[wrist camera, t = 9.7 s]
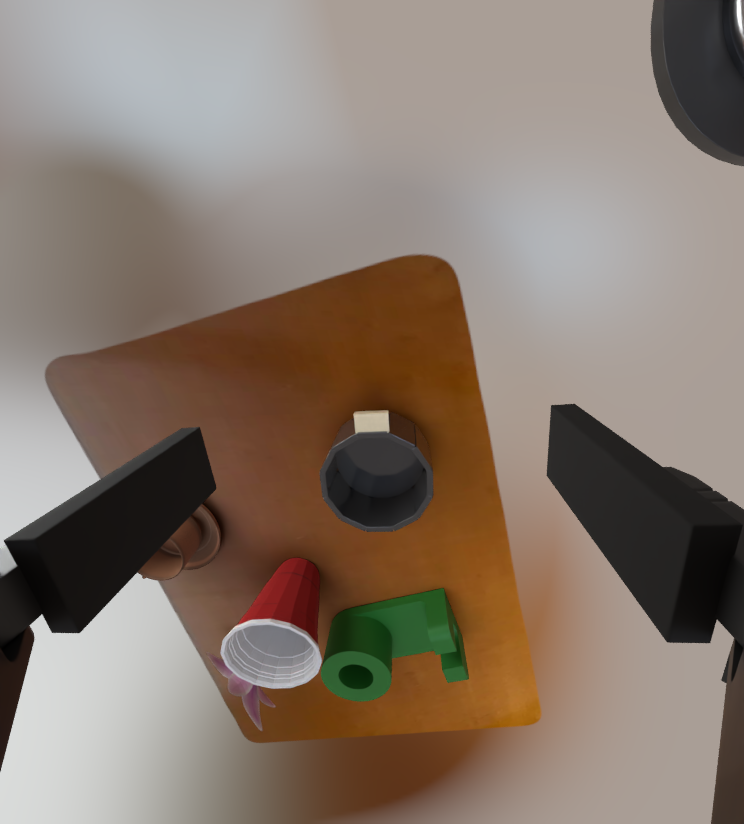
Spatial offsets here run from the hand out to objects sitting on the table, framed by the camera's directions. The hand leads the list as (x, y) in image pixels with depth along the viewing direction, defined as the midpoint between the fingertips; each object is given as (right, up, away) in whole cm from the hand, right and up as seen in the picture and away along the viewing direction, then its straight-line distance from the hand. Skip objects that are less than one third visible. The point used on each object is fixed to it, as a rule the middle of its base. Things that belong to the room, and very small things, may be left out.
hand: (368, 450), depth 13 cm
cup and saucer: (-25, -13, +35) cm, 45 cm away
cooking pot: (+1, -4, +27) cm, 27 cm away
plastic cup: (-10, -21, +36) cm, 43 cm away
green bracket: (+3, -29, +38) cm, 47 cm away
